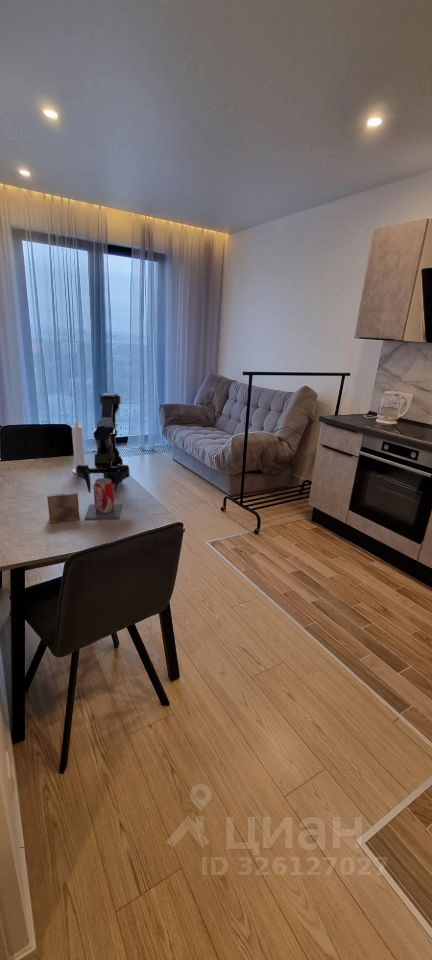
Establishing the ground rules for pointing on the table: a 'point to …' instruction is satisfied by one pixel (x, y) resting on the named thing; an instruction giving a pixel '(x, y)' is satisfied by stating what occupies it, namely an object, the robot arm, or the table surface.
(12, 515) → the table surface
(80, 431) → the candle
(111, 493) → the soda can
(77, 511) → the walnut screen
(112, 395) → the robot arm
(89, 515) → the charcoal mat
